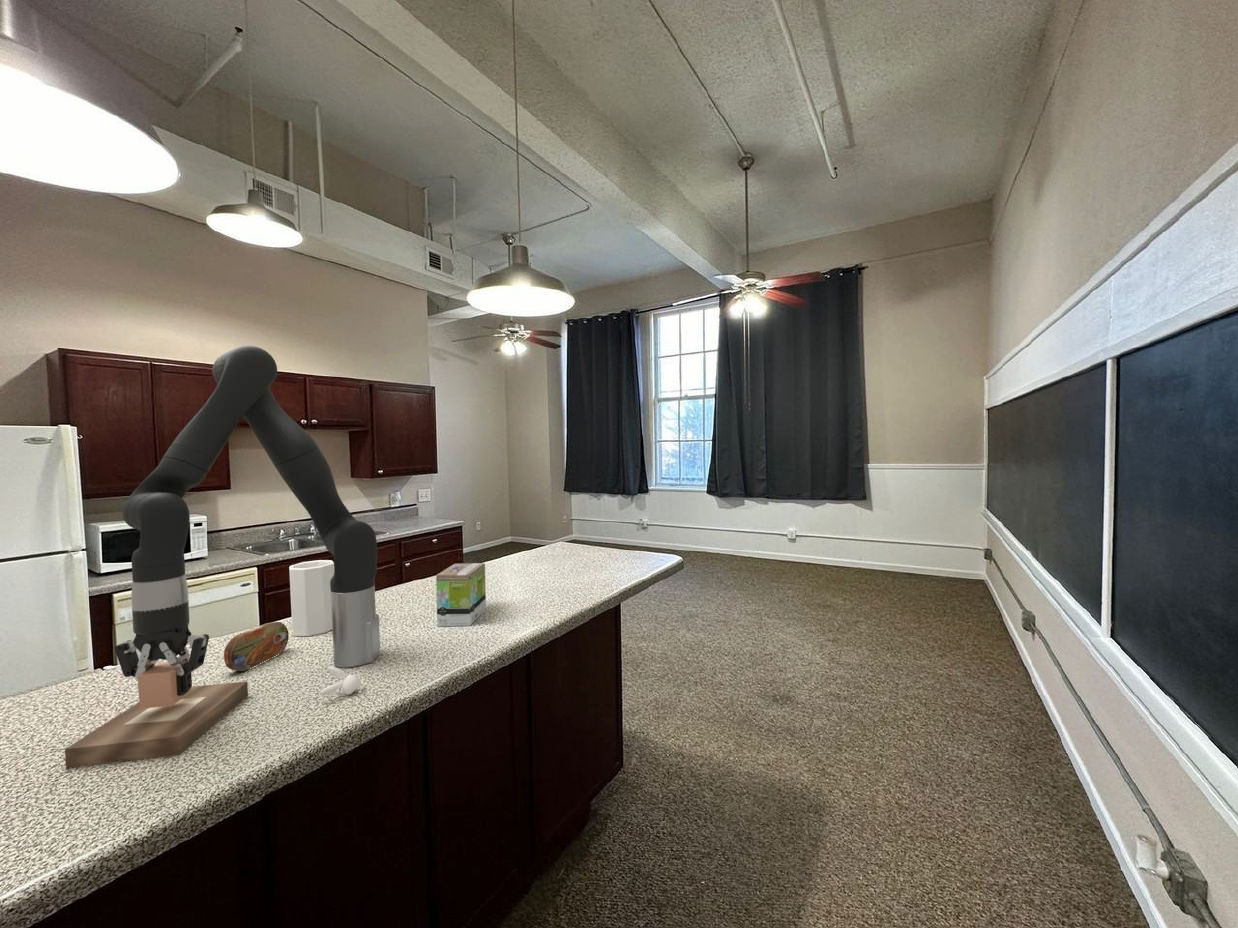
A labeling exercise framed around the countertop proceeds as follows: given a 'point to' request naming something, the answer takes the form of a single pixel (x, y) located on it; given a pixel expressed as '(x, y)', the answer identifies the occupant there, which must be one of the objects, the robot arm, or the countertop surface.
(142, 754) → the plinth
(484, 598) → the tea box
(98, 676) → the countertop surface
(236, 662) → the tin
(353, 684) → the rabbit figurine
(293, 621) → the cup
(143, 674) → the block
